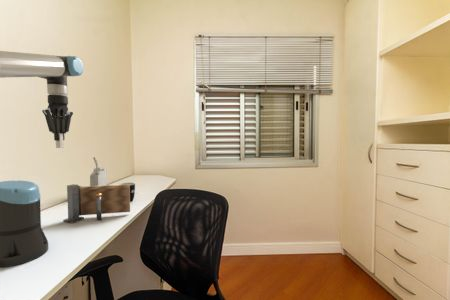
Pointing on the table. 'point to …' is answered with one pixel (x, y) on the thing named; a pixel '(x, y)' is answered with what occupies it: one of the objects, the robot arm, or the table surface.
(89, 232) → the table surface
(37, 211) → the robot arm
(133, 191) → the mug
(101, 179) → the fuel canister
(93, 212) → the panel
